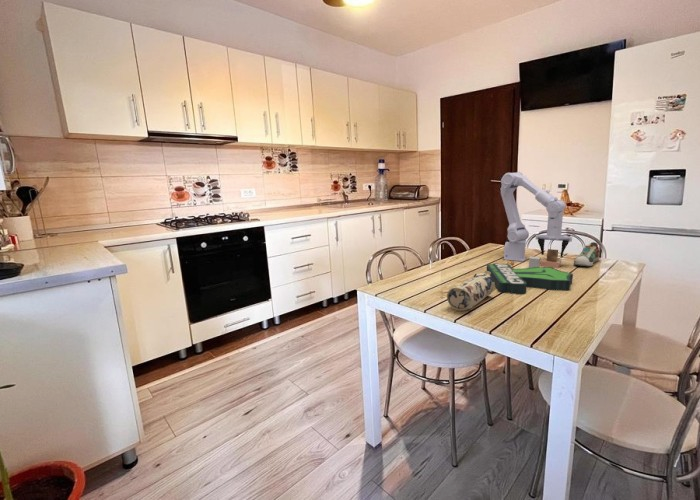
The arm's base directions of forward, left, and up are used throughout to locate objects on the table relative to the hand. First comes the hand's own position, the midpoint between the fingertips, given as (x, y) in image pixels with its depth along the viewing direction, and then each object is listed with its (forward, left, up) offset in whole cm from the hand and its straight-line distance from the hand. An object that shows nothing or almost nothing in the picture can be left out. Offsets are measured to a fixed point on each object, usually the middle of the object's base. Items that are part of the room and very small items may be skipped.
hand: (551, 255), depth 159 cm
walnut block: (0, 0, -2) cm, 3 cm away
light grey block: (-6, -8, -5) cm, 11 cm away
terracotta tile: (0, 0, -6) cm, 6 cm away
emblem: (-4, -31, -6) cm, 32 cm away
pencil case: (-18, -66, -5) cm, 68 cm away
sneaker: (+14, +12, -5) cm, 19 cm away
